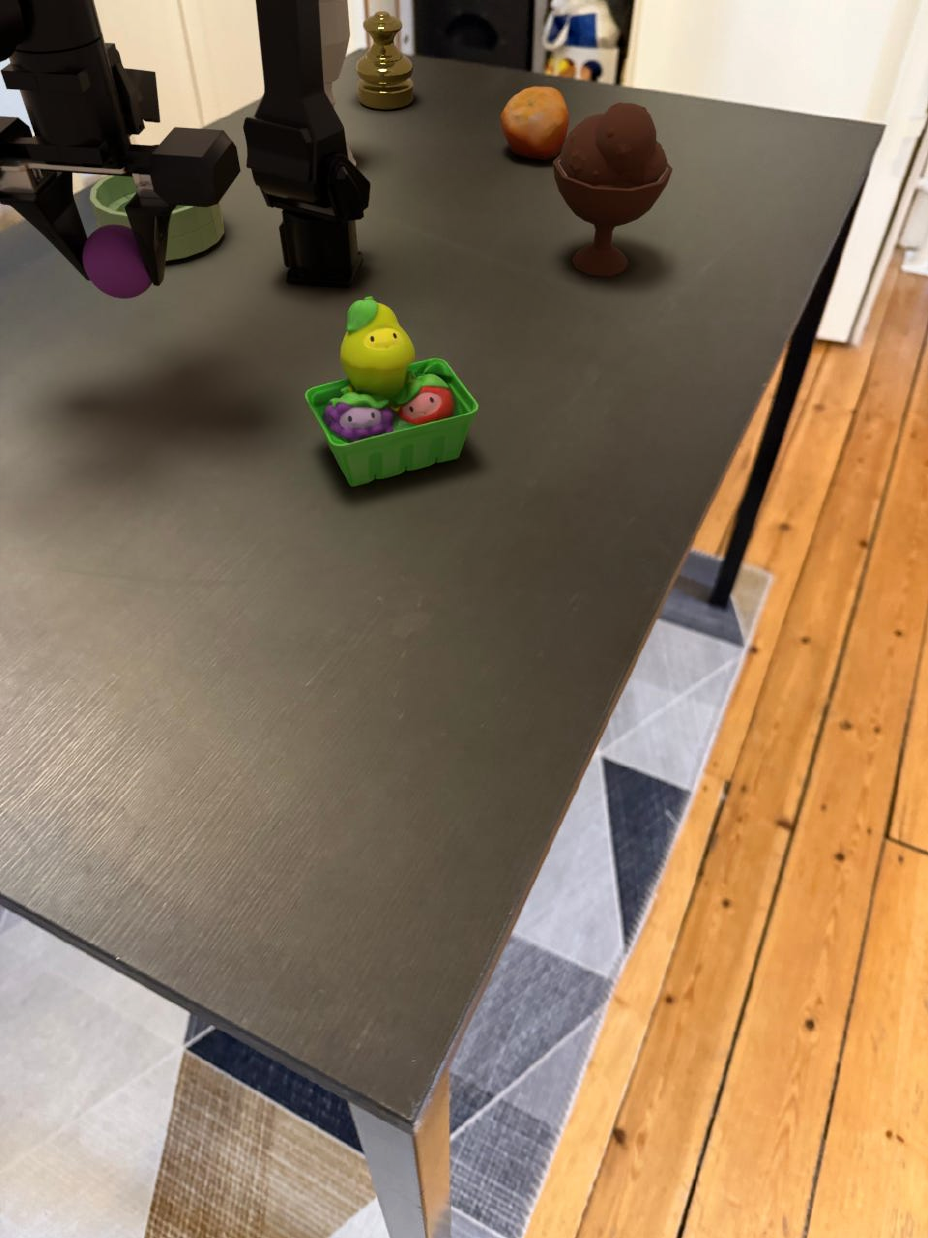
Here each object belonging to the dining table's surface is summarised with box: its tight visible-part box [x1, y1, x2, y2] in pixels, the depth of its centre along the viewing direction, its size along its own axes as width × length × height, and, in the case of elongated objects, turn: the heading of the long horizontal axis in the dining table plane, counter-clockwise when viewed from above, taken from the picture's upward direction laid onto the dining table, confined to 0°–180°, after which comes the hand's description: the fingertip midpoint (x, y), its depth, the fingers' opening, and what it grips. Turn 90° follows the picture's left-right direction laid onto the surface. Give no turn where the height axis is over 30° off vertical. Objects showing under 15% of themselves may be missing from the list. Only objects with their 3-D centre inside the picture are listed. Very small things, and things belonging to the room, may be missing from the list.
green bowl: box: [89, 175, 225, 262], centre depth 90 cm, size 12×12×5 cm
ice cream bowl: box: [552, 102, 674, 277], centre depth 84 cm, size 11×11×15 cm
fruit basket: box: [304, 295, 479, 487], centre depth 65 cm, size 11×9×11 cm
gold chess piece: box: [355, 10, 414, 111], centre depth 115 cm, size 7×7×10 cm
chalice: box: [319, 0, 357, 167], centre depth 98 cm, size 7×7×18 cm
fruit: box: [499, 85, 570, 161], centre depth 106 cm, size 8×8×8 cm
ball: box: [82, 224, 153, 300], centre depth 64 cm, size 5×5×5 cm
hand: (126, 280), depth 65 cm, fingers closed on ball, 5 cm apart
